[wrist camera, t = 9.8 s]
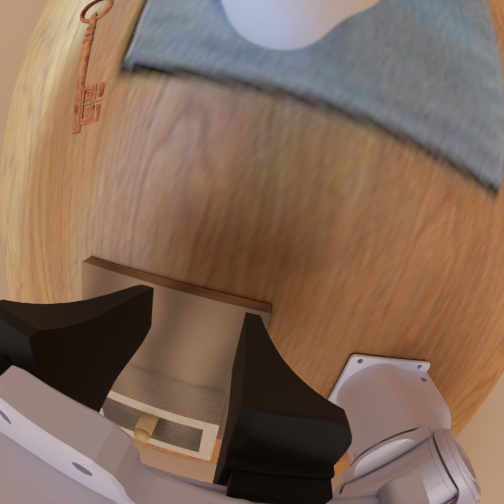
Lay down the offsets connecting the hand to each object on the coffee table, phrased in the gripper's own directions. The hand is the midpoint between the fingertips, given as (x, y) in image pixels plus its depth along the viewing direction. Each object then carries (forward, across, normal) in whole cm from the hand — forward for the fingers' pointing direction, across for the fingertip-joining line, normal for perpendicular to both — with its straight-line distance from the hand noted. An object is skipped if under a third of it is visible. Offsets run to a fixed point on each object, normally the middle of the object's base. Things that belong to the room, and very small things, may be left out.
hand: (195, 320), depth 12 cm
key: (+10, +16, -15) cm, 24 cm away
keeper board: (+9, +4, +12) cm, 15 cm away
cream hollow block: (+8, +4, +15) cm, 18 cm away
